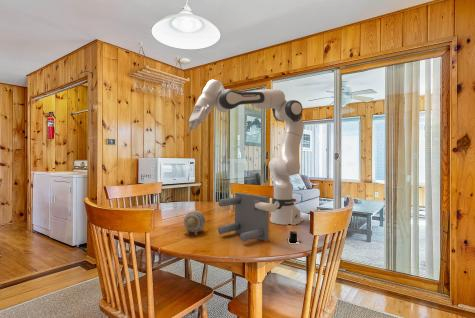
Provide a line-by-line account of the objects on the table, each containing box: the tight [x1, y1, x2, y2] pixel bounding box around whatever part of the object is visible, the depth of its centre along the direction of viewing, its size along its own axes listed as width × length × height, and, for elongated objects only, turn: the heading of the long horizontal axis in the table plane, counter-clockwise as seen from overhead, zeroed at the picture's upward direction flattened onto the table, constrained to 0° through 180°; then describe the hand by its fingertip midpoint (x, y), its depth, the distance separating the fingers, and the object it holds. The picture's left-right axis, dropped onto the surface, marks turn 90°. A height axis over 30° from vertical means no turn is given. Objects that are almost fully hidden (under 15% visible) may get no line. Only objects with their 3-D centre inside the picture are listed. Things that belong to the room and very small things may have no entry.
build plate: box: [288, 230, 298, 243], centre depth 126 cm, size 12×7×5 cm, turn 174°
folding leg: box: [254, 200, 276, 213], centre depth 122 cm, size 11×4×4 cm, turn 45°
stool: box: [217, 192, 270, 242], centre depth 129 cm, size 14×20×20 cm
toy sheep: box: [183, 210, 206, 236], centre depth 137 cm, size 11×17×11 cm, turn 175°
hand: (191, 129), depth 142 cm, fingers open, 8 cm apart
